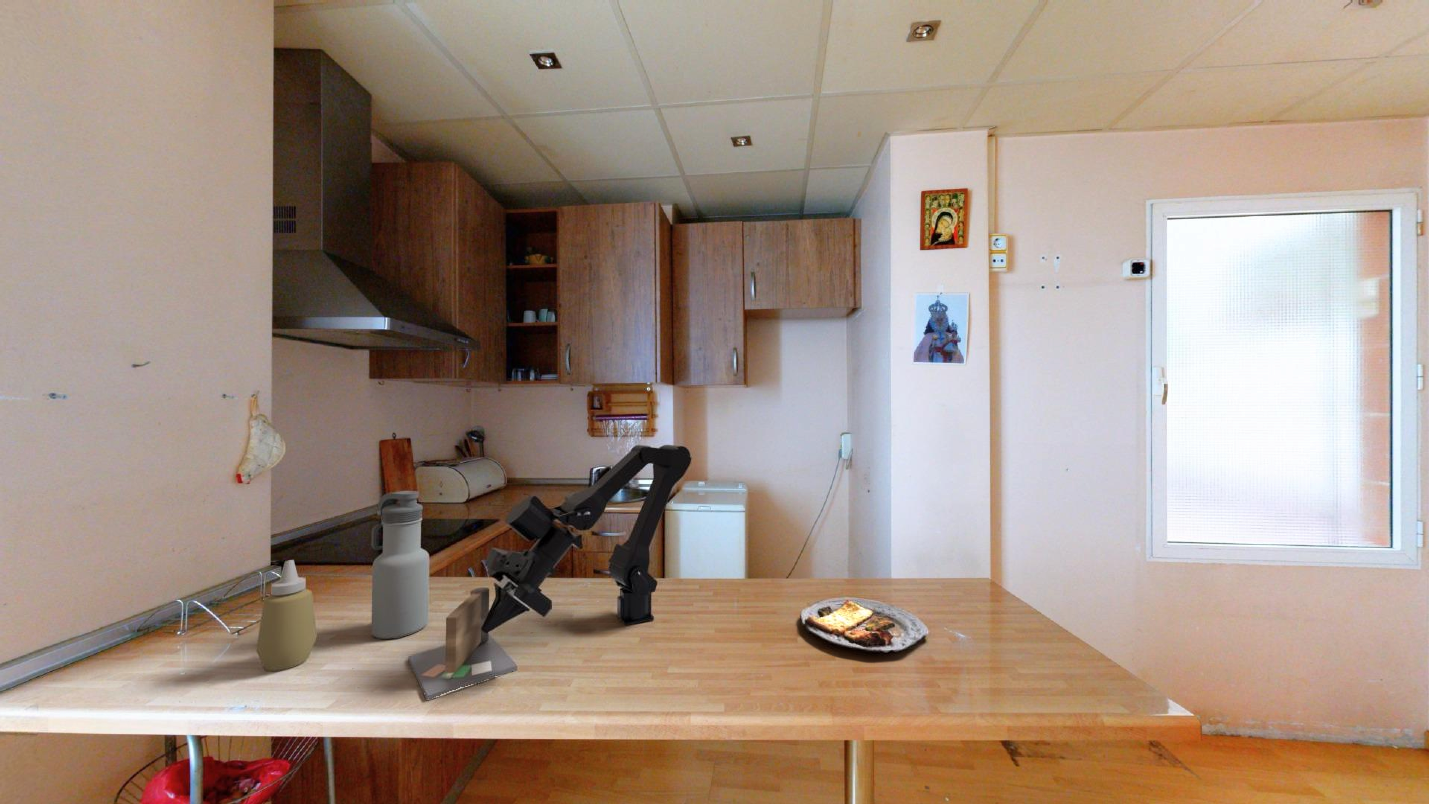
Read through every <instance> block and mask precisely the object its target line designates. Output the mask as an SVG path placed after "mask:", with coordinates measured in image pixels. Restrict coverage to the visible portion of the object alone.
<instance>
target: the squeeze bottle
mask: <svg viewBox="0 0 1429 804" xmlns="http://www.w3.org/2000/svg"><path fill="white" fill-rule="evenodd" d="M279 577H280V578H279V580H277V581H275V582H273V583H271V586H270V595H269V596H267V597H266V598H265V599H264V600H263V604H262V611H261V616H260V617H261V618H260V623H259V630H258V636H257V642H256V648H255V649H256V650H255V651H256V654H257V656H258V659H259V661H260V662H261V664H262V667H263V668H264V670H266V671H271V672H274V671H275V672H276V671H282V670H288V669H290V668H293V667H295V666H299V665H301V664H303V663H304V662H306V661H307V660H308V659H309V657H310V655H311V653H312V650H313V648H314V644H315V642H316V640H317V637H318V636H317V635H318V634H317V633H318V632H317V626H316V617H315V608H314V606H315V605H314V597H313V591H312V590H310V589H308V588H307V587H306V586H307V585H306V584H307V583H306V582H307V579H306V577H302V576H301V577H299V574H298V572H297V568H296V564H295V559H289V560H285V561H284V564H283V567H282V571H281V575H280V576H279Z"/></svg>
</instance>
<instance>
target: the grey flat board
mask: <svg viewBox="0 0 1429 804" xmlns="http://www.w3.org/2000/svg"><path fill="white" fill-rule="evenodd" d="M445 657H446V644H445V645H443V646H439V647H435V648H431V649H428V650H425V651H421V652H417V653H414V654H411V655H408V656H407V658H408V659H407V660H408V663H409V665H410V666H411V669H412V672H413V673H414V675H415V677H416V680H417V682H418V683H419V686H420V688H421V687H422V688H421V691H422V692H423V694H424V693H425V695H424V696H426V697H425V699H426V698H427V699H426V700H428V699H432V698H434V697H436V696H440V695H441V694H444V693H447V692H449V691H452V690H456V689H458V688H460V687H465V686H468V685H471V684H475V683H478V682H481V681H484V680H486V679H490V680H492V679H494V678H493V677H495V676H498V677H500V676H499V675H501V676H504V675H506V673H507V674H509V672H510V673H513V672H515V671H517V670H518V665H517V663H516V662H515V661H514V660H513V659H512V658H511V657H510V655H508V654H507V652H506V651H505V650H504V649H503V648H502V647H501V645H499V643H498V642H497V641H496V640H495V639H494V638H493V637H492V636H491V634H490V633H489V639H488V641H487V642H485V643H482V644H479V645H478V646H477V647H476V648H475V649H474V651H473V652H472V653H471V654H470V655H469V657H468V658H467V659H466V660H465V661H464V663H463V664H462V665H461V666H460V667H459V669H458V670H457V671H456V672H455V673H454V674H453V675H452V676H451V677H450V678H447V679H445V676H446V675H447V673H445ZM512 671H513V672H512ZM503 674H504V675H503ZM491 678H492V679H491ZM495 678H496V677H495ZM484 682H485V681H484ZM481 683H482V682H481ZM478 684H479V683H478ZM475 685H476V684H475ZM432 700H433V699H432Z"/></svg>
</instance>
